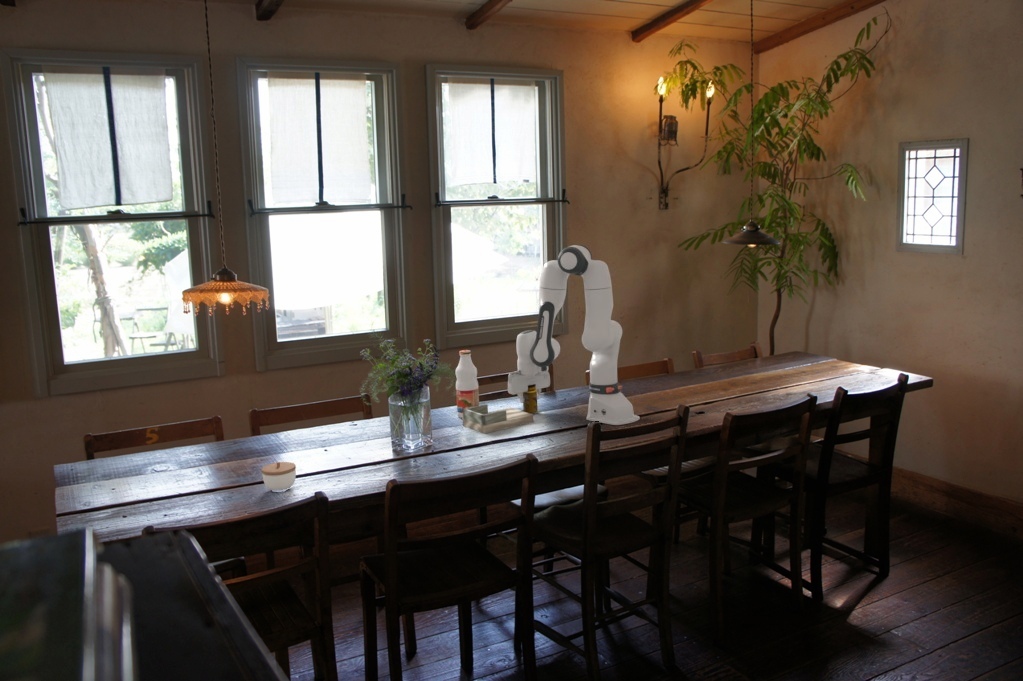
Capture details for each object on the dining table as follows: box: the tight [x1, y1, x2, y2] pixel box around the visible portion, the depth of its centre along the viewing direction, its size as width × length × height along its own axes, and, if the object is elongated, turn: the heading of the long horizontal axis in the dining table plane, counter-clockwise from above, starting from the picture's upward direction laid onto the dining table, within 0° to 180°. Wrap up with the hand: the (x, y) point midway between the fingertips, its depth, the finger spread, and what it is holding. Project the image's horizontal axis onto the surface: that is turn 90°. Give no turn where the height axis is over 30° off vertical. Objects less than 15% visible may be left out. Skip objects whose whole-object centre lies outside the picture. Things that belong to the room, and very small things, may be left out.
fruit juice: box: [454, 349, 480, 419], centre depth 358 cm, size 9×9×28 cm
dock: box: [461, 403, 535, 434], centre depth 345 cm, size 16×24×7 cm, turn 126°
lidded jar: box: [261, 461, 297, 491], centre depth 278 cm, size 11×11×9 cm
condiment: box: [520, 384, 542, 415], centre depth 358 cm, size 7×8×12 cm
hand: (529, 400), depth 359 cm, fingers closed on condiment, 6 cm apart
